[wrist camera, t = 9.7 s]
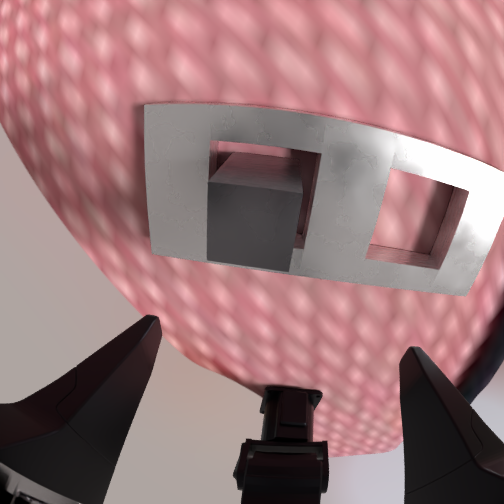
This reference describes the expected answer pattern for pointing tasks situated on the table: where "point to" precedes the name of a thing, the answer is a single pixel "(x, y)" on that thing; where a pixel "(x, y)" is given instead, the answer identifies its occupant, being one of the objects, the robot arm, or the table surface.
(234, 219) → the dark grey block
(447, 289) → the metal plate with holes
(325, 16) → the table surface
